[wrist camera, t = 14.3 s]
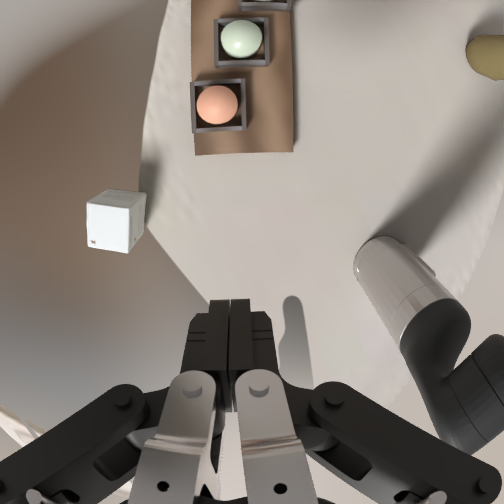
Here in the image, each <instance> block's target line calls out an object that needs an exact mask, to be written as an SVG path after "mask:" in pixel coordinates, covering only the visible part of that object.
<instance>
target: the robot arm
mask: <svg viewBox="0 0 504 504" xmlns="http://www.w3.org/2000/svg"><path fill="white" fill-rule="evenodd" d="M354 274H355V276H356V279H357V280H358V282H359V283H360V285H361V286H362V288H363V290H364V291H365V293H366V295H367V296H368V298H369V299H370V301H371V303H372V304H373V306H374V307H375V309H376V311H377V312H378V314H379V316H380V317H381V319H382V321H383V322H384V324H385V326H386V327H387V329H388V331H389V332H390V334H391V336H392V338H393V339H394V341H395V343H396V344H397V346H398V348H399V350H400V351H401V354H402V355H403V357H404V359H405V361H406V364H407V366H408V368H409V370H410V372H411V374H412V376H413V378H414V380H415V382H416V384H417V387H418V389H419V391H420V393H421V395H422V398H423V400H424V403H425V405H426V408H427V410H428V413H429V415H430V418H431V420H432V423H433V425H434V427H435V430H436V432H437V434H438V436H439V438H440V439H441V440H440V439H438V438H436V437H434V436H433V435H431V434H429V433H427V432H425V431H423V430H422V429H420V428H418V427H416V426H415V425H413V424H411V423H409V422H407V421H406V420H404V419H402V418H401V417H399V416H397V415H396V414H394V413H392V412H391V411H389V410H387V409H386V408H384V407H382V406H381V405H379V404H377V403H376V402H374V401H372V400H371V399H369V398H367V397H366V396H364V395H363V394H361V393H359V392H358V391H356V390H354V389H353V388H351V387H350V386H348V385H346V384H344V383H341V382H334V381H333V382H325V383H322V384H320V385H319V386H317V387H316V388H315V389H314V390H310V389H304V388H299V387H295V386H293V385H290V384H289V383H287V382H286V381H284V379H283V378H282V377H281V376H280V374H279V370H278V364H277V357H276V350H275V343H274V336H273V329H272V322H271V319H270V318H269V316H268V315H267V314H266V313H265V311H258V312H251V311H250V299H231V308H230V300H210V305H209V313H197V314H196V316H195V317H194V318H193V319H192V320H191V322H190V325H189V330H188V335H187V340H186V341H187V342H186V345H185V350H184V355H183V360H182V366H181V371H180V374H179V375H178V376H176V377H175V378H174V379H173V380H172V382H171V384H170V386H169V387H167V388H165V389H162V390H158V391H154V392H148V393H143V392H142V391H141V390H140V389H139V388H138V387H136V386H134V385H130V384H121V385H117V386H115V387H113V388H111V389H110V390H108V391H107V392H106V393H104V394H102V395H101V396H100V397H98V398H97V399H95V400H94V401H93V402H91V403H89V404H88V405H87V406H85V407H84V408H82V409H81V410H79V411H78V412H76V413H75V414H73V415H72V416H70V417H69V418H67V419H66V420H64V421H63V422H61V423H60V424H58V425H57V426H55V427H54V428H52V429H51V430H49V431H48V432H46V433H45V434H43V435H41V436H40V437H38V438H37V439H35V440H34V441H32V442H31V443H29V444H28V445H26V446H24V447H23V448H21V449H20V450H18V451H17V452H15V453H13V454H12V455H10V456H9V457H7V458H5V459H4V460H3V461H1V462H0V504H97V503H99V502H100V501H102V500H103V499H105V498H106V497H107V496H109V495H110V494H112V493H113V492H114V491H116V490H117V489H118V488H120V487H121V486H122V485H124V484H125V483H126V482H128V481H129V480H130V479H132V478H133V477H134V476H135V478H134V481H133V485H132V489H131V493H130V496H129V499H128V500H125V501H123V502H122V503H120V504H335V503H332V502H330V501H328V500H325V499H321V498H318V497H317V496H316V492H315V488H314V484H313V481H312V477H311V473H310V469H309V465H308V462H307V458H306V454H308V455H309V456H310V457H312V458H313V459H314V460H315V461H317V462H318V463H319V464H321V465H322V466H324V467H325V468H326V469H328V470H329V471H330V472H332V473H333V474H335V475H336V476H337V477H339V478H340V479H342V480H343V481H345V482H346V483H348V484H349V485H350V486H352V487H353V488H355V489H357V490H358V491H360V492H361V493H363V494H364V495H366V496H367V497H369V498H371V499H372V500H374V501H376V502H377V503H379V504H490V503H492V502H493V501H494V500H495V499H496V498H497V497H498V495H499V493H500V491H501V486H502V479H501V476H500V473H499V471H498V470H497V469H496V468H495V467H493V466H491V465H489V464H487V463H485V462H483V461H481V460H479V459H477V458H475V457H473V456H471V455H472V454H474V453H475V452H476V451H478V450H479V449H481V448H482V447H483V446H485V445H486V444H487V443H488V442H489V441H491V440H492V439H494V438H495V437H496V436H497V435H499V434H500V433H501V432H502V431H503V430H504V337H503V336H502V335H499V334H493V335H491V336H489V337H488V338H487V339H486V340H485V341H483V343H482V344H480V345H479V346H478V347H477V348H476V349H475V350H474V351H473V352H472V353H471V355H469V356H468V357H467V358H466V359H465V360H464V361H463V362H462V363H461V364H460V365H459V366H457V367H456V368H455V369H454V366H455V363H456V361H457V359H458V356H459V354H460V353H461V351H462V349H463V347H464V345H465V343H466V341H467V339H468V337H469V334H470V329H471V320H470V316H469V314H468V312H467V311H466V310H465V308H464V307H463V306H462V305H461V304H460V303H459V302H458V301H457V300H456V299H455V298H454V296H453V295H452V294H451V293H450V292H449V291H448V290H447V289H446V288H445V287H444V286H443V285H442V284H441V283H440V282H439V281H438V280H437V279H436V278H435V272H434V271H433V270H432V269H431V268H430V267H429V266H428V265H427V264H426V263H425V262H424V261H423V260H422V259H421V258H420V257H419V256H418V255H417V254H416V253H415V252H414V251H412V250H411V249H410V248H409V247H408V246H407V245H406V244H400V243H399V242H398V241H397V240H396V239H394V238H392V237H389V236H380V237H376V238H374V239H372V240H370V241H368V242H367V243H366V244H365V245H364V246H363V247H362V248H361V249H360V250H359V252H358V253H357V255H356V258H355V261H354ZM453 369H454V370H453ZM232 400H233V407H234V412H238V421H239V430H240V439H241V449H242V458H243V466H244V474H245V482H246V490H247V497H243V498H238V499H234V500H230V501H220V468H221V458H222V450H223V442H224V432H225V431H224V427H225V412H232ZM305 453H306V454H305Z"/></svg>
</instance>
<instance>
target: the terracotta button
mask: <svg viewBox="0 0 504 504" xmlns="http://www.w3.org/2000/svg"><path fill="white" fill-rule="evenodd" d="M237 108H238V102H237V98H236V96H235V94H234V93H233V92H232V91H231V90H230V89H229V88H227V87H224V86H211V87H209V88H207V89H205V90H204V91H203V92H202V93H201V94H200V96H199V98H198V100H197V111H198V113H199V115H200V116H201V118H202V119H203V120H205V121H206V122H209V123H212V124H221V123H225V122H227V121H229V120H231V119H232V118H233V117H234V115H235V114H236V112H237Z"/></svg>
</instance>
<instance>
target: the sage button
mask: <svg viewBox="0 0 504 504" xmlns="http://www.w3.org/2000/svg"><path fill="white" fill-rule="evenodd" d="M221 41H222V45H223V49H224V51H225V52H226V54H228V55H229V56H230V57H232V58H235V59H247V58H250V57H252V56H254V55H255V54H256V53H257V51H258V50H259V47H260V44H261V41H262V33H261V31H260V29H259V27H258V26H257V25H255V24H254V23H252V22H250V21H247V20H237V21H233V22H231V23H229V24H228V25H227V26H226V27H225V28H224V29H223V31H222V33H221Z"/></svg>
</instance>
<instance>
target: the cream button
mask: <svg viewBox="0 0 504 504" xmlns="http://www.w3.org/2000/svg"><path fill="white" fill-rule="evenodd" d="M252 1H254V2H274V1H276V0H252Z"/></svg>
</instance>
